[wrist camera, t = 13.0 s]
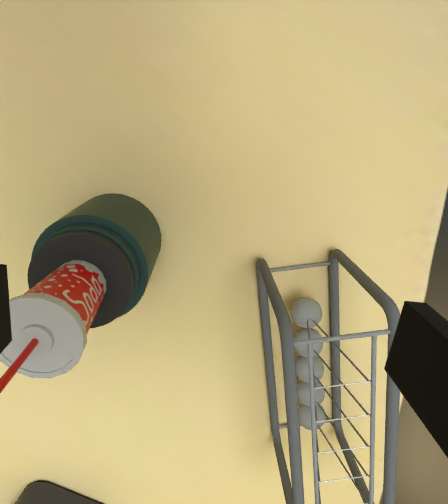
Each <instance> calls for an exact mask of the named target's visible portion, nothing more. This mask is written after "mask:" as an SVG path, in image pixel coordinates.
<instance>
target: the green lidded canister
mask: <svg viewBox="0 0 448 504" xmlns="http://www.w3.org/2000/svg"><path fill="white" fill-rule="evenodd" d="M160 247H161V233H160V228H159V225H158V223H157V221H156V219H155V217H154V216H153V214H152V213H151V212H150V210H149V209H148V208H147V207H145V206H144V205H143V204H142V203H140V202H139V201H137V200H135V199H134V198H131V197H129V196H125V195H121V194H104V195H100V196H96V197H94V198H92V199H90V200H89V201H87V202H85V203H84V204H82V205H81V206H79V207H78V208H76V209H75V210H73V211H72V212H70V213H68V214H67V215H65V216H64V217H62V218H61V219H59V220H58V221H56V222H55V223H53V224H52V225H50V226H49V227H48V228H47V229H45V231H44V232H43V233H42V234H41V235H40V237H39V238H38V240H37V241H36V244H35V246H34V248H33V252H32V258H31V262H30V265H29V269H28V284H29V289H31V288H32V287H34V286H35V285H36V284H38V283H39V282H40V281H41V280H43V279H44V278H45V277H47V276H48V275H49V274H51V273H52V272H53V271H55V270H56V269H57V268H58V267H60V266H61V265H62V264H64V263H66V262H69V261H72V260H82V261H86V262H89V263H91V264H93V265H95V266H96V267H97V268H98V269H99V270H100V271H101V272H102V274H103V276H104V278H105V280H106V292H105V294H104V297H103V299H102V301H101V303H100V306H99V308H98V310H97V312H96V315H95V317H94V319H93V321H92V324H91V326H90V328H95V327H99V326H103V325H105V324H108V323H110V322H111V321H113V320H114V319H116V318H117V317H120V316H122V315H124V314H126V313H127V312H128V311H130V310H131V309H132V308H133V307H134V306H135V305H136V304H137V303H138V302H139V301H140V299H141V297H142V296H143V294H144V292H145V289H146V286H147V284H148V281H149V278H150V276H151V273H152V270H153V268H154V265H155V262H156V259H157V257H158V254H159V251H160Z"/></svg>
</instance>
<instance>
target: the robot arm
mask: <svg viewBox="0 0 448 504" xmlns="http://www.w3.org/2000/svg"><path fill="white" fill-rule="evenodd" d="M11 341H12V331H11V318H10V305H9V291H8V278H7V265H3V264H0V354H1V353H2V351H3V350H4V349H5V348H6V347H7V346H8V345H9V344H10V342H11ZM384 369H385V371H386V372H387V373H388V375H389V376H390V378H391V379H392V380H393V382H394V383H395V385H396V386H397V387H398V389H399V390H400V392H401V393H402V394H403V396H404V397H405V399H406V400H407V401H408V403H409V404H410V406H411V407H412V408H413V410H414V411H415V413H416V414H417V415H418V417H419V418H420V419H421V421H422V422H423V424H424V425H425V427H426V428H427V429H428V431H429V432H430V434H431V435H432V436H433V438H434V439H435V441H436V442H437V443H438V445H439V446H440V447H441V449H442V450H443V452H444V453H445V455H446V456H447V457H448V321H447V320H446V319H445V318H443V317H442V316H441V315H440V314H439V313H437V312H436V311H435V310H434V309H433V308H431V307H430V306H429V305H428V304H427V303H420V302H409V301H405V302H404V305H403V309H402V312H401V315H400V318H399V322H398V325H397V328H396V332H395V335H394V338H393V342H392V345H391V348H390V351H389V355H388V358H387V361H386V365H385V368H384Z"/></svg>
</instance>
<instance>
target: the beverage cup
mask: <svg viewBox="0 0 448 504" xmlns="http://www.w3.org/2000/svg"><path fill="white" fill-rule="evenodd" d="M105 292H106V280H105V278H104V276H103V274H102V272H101V271H100V270H99V269H98V268H97V267H96V266H95V265H93V264H91V263H89V262H86V261H82V260H72V261H69V262H66V263H64V264H62V265H61V266H60V267H58V268H57V269H56V270H55V271H53V272H52V273H51V274H49V275H48V276H47V277H45V278H44V279H43V280H41V281H40V282H39V283H38V284H36V285H35V286H34V287H32V288H31V289H30V290H28V291H27V292H26V293H24V294H23V295H21V296H18V297H15V298H12V299H11V300H10V301H9V305H10V318H11V331H12V341H11V342H10V344H9V345H8V346H7V347H6V348H5V349H4V350H3V351H2V353H1V354H0V361H1V362H3V363H4V364H5V365H6V366H8V367H9V369H8V370H7V371H6V372H5V374H4V375H3V376H2V377H1V378H0V393H1V392H2V390H3V389H4V388H5V386H6V385H7V384H8V383H9V381H10V380H11V379H12V377H13V376H14V375H15V373H16V372H17V373H20V374H23V375H26V376H29V377H31V378H52V377H55V376H58V375H61V374H64V373H66V372H68V371H69V370H70V369H71V368H72V367H73V366H75V365H76V364H77V363H78V361H79V359H80V357H81V355H82V353H83V350H84V348H85V346H86V343H87V333H88V330H89V328H90V326H91V324H92V321H93V319H94V317H95V315H96V312H97V310H98V308H99V306H100V303H101V301H102V299H103V297H104V294H105Z"/></svg>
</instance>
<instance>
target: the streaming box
mask: <svg viewBox="0 0 448 504" xmlns="http://www.w3.org/2000/svg"><path fill="white" fill-rule="evenodd" d="M15 504H100V503H97V502H95V501H92V500H90V499H87V498H85V497H82V496H80V495H77V494H75V493H72V492H70V491H68V490H65V489H63V488H60V487H58V486H55V485H53V484H50V483H47V482H35V483H32V484H30V485H28V486H27V487H26V488H25V489H24V491H23V493H22V494H21V496H20V497H19V499H18V500H17V502H16V503H15Z"/></svg>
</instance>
